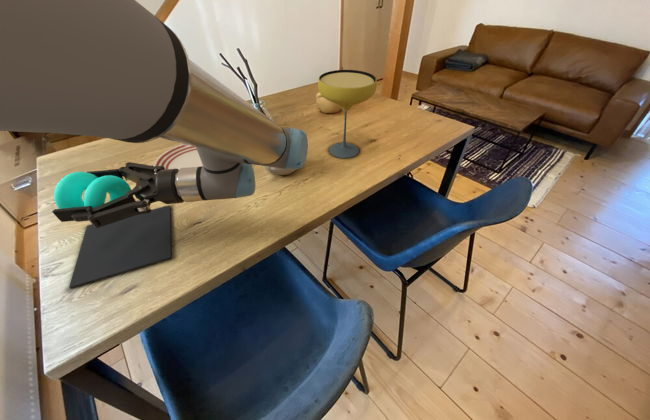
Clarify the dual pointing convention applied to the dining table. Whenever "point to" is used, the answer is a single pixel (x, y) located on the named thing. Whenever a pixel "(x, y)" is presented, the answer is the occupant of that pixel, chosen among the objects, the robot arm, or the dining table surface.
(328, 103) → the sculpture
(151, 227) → the placemat
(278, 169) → the teacup
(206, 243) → the dining table surface
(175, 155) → the dinner plate
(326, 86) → the cocktail glass
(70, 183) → the donuts
